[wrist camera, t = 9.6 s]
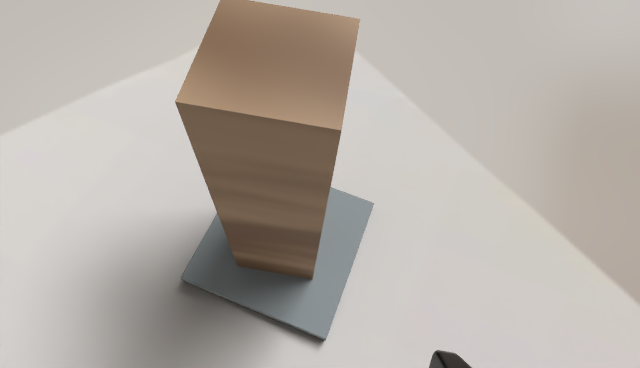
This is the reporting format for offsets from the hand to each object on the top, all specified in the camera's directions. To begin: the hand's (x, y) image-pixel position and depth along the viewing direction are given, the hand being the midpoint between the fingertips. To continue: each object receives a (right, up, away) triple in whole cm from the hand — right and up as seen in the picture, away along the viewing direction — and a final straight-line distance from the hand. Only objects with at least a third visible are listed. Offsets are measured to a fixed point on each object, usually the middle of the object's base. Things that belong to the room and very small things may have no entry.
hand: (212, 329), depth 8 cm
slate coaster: (0, 0, +14) cm, 14 cm away
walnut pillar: (0, 0, +14) cm, 14 cm away
